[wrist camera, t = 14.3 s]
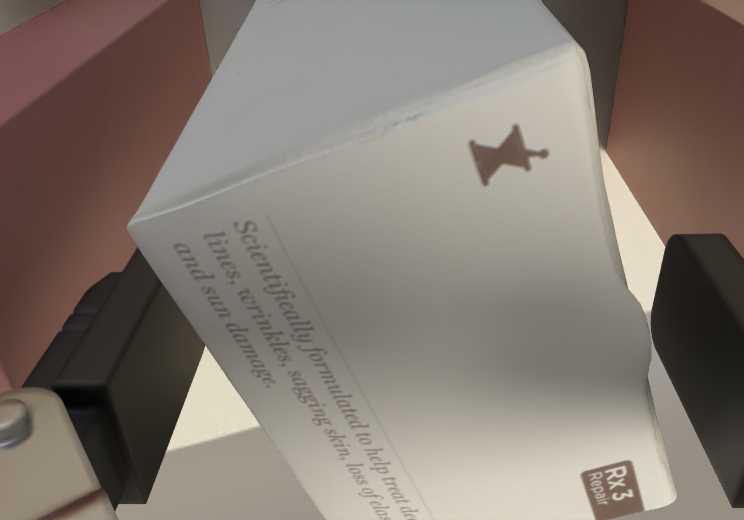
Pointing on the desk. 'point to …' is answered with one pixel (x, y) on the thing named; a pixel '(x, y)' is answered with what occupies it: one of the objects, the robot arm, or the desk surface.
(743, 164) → the rose book
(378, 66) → the cosmetic box
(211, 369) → the desk surface
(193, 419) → the desk surface
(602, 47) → the desk surface
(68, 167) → the rose book
